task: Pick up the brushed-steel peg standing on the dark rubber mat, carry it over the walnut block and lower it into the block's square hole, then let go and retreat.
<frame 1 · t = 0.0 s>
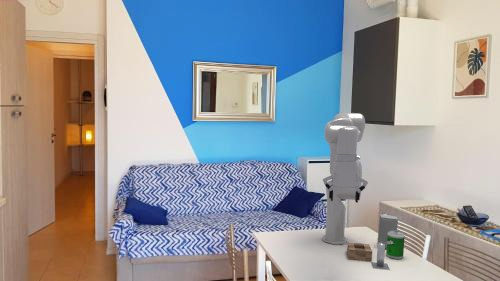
hand: (343, 201, 156), 31 cm above the table, tool pointing down, fingers open, 9 cm apart
skincare box: (386, 247, 195), on the table
peg: (380, 265, 170), resting on mat
mat: (380, 266, 170), on the table
hole block: (358, 257, 180), on the table
soda can: (394, 257, 182), on the table
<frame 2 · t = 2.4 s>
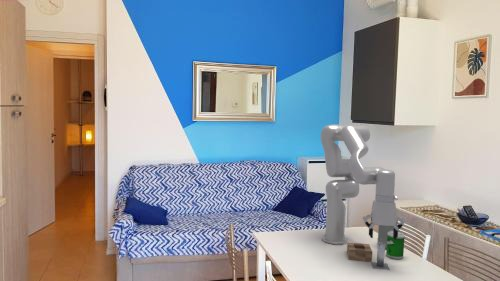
hand: (382, 238, 169), 13 cm above the table, tool pointing down, fingers open, 9 cm apart
nothing on the table moved.
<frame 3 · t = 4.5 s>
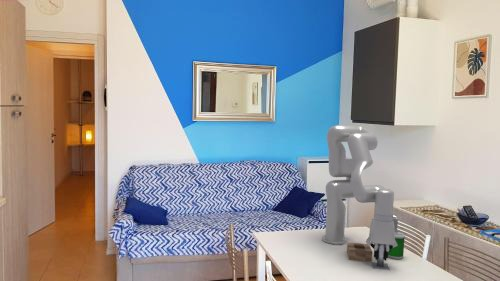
hand: (380, 258, 170), 4 cm above the table, tool pointing down, fingers closed on peg, 3 cm apart
peg: (380, 265, 170), resting on mat, touching gripper
everything else where it was.
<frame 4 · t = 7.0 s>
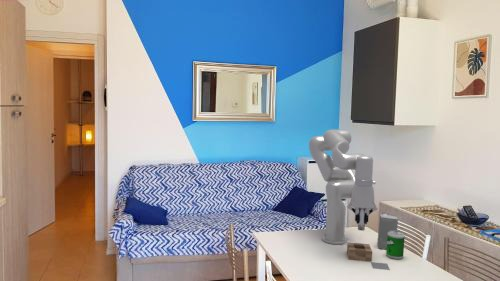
hand: (361, 222, 179), 16 cm above the table, tool pointing down, fingers closed on peg, 3 cm apart
peg: (361, 229, 179), point 13 cm above the table, touching gripper
everything else where it was.
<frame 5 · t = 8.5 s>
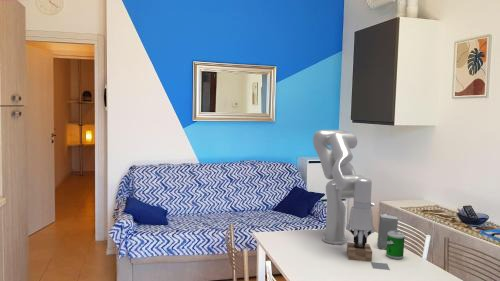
hand: (359, 244, 180), 6 cm above the table, tool pointing down, fingers closed on peg, 3 cm apart
peg: (359, 251, 180), point 3 cm above the table, touching gripper
everything else where it was.
when the fingers open (6 cm above the table, at t = 9.5 s): peg drops 3 cm, resting in hole block.
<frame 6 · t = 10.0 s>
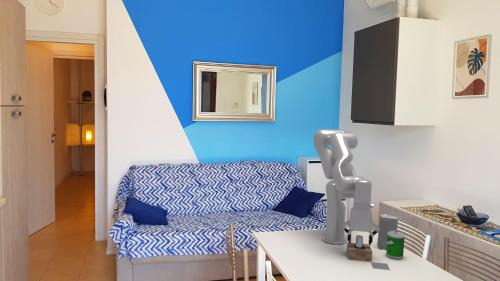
hand: (359, 243, 180), 7 cm above the table, tool pointing down, fingers open, 8 cm apart
peg: (358, 257, 180), resting in hole block
everything else where it was.
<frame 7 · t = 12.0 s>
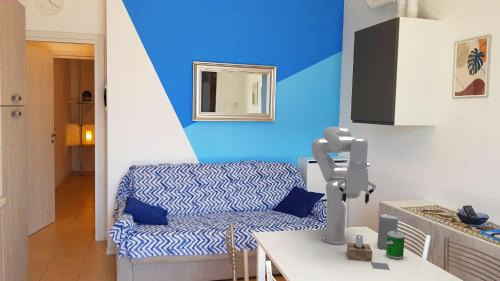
hand: (355, 202, 180), 25 cm above the table, tool pointing down, fingers open, 9 cm apart
nothing on the table moved.
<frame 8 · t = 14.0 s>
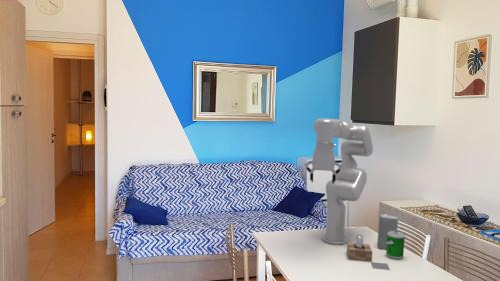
hand: (322, 182, 183), 33 cm above the table, tool pointing down, fingers open, 9 cm apart
nothing on the table moved.
at the end: peg 0.2 cm off-centre on the hole block, point 0.0 cm above the hole block's base; peg tilted 0°; the gripper is holding nothing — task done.
